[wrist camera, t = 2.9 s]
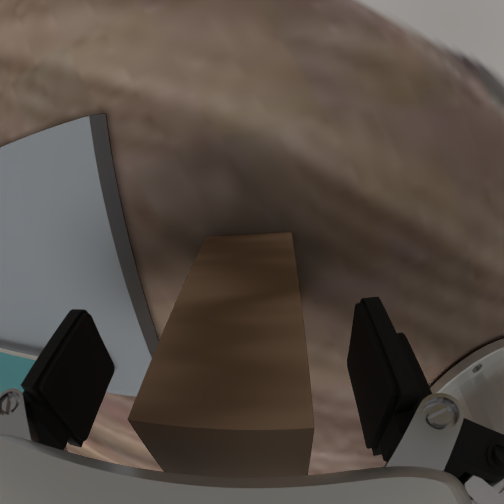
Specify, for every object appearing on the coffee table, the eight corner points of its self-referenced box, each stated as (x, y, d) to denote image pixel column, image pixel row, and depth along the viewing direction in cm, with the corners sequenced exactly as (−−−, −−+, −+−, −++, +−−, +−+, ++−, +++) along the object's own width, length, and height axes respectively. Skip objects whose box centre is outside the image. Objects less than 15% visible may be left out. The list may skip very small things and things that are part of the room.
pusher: (291, 232, 14) (314, 427, 6) (293, 303, 16) (304, 490, 7) (205, 236, 15) (127, 419, 6) (217, 306, 17) (174, 485, 8)
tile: (83, 371, 17) (76, 362, 16) (39, 510, 9) (27, 506, 8) (-6, 352, 18) (-13, 344, 17) (-50, 452, 10) (-59, 445, 9)
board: (105, 113, 12) (68, 119, 10) (174, 383, 20) (163, 419, 17) (-74, 186, 14) (-99, 200, 11) (-7, 353, 21) (-23, 373, 19)
